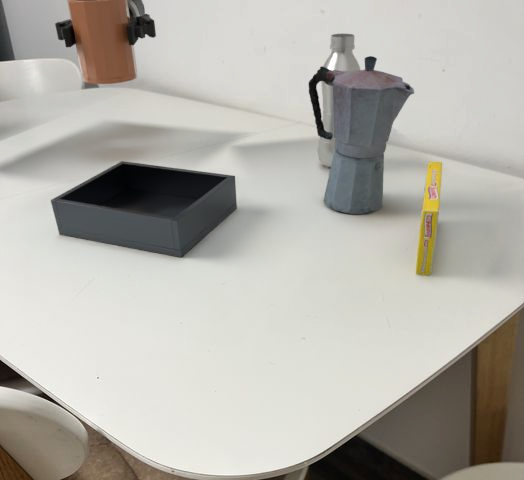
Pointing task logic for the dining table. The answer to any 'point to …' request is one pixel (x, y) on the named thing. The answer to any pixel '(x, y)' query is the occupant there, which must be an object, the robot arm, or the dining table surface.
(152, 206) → the tray
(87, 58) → the pot
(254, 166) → the dining table surface
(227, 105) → the dining table surface
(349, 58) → the silver bottle
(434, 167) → the candy box
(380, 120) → the moka pot
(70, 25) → the robot arm
